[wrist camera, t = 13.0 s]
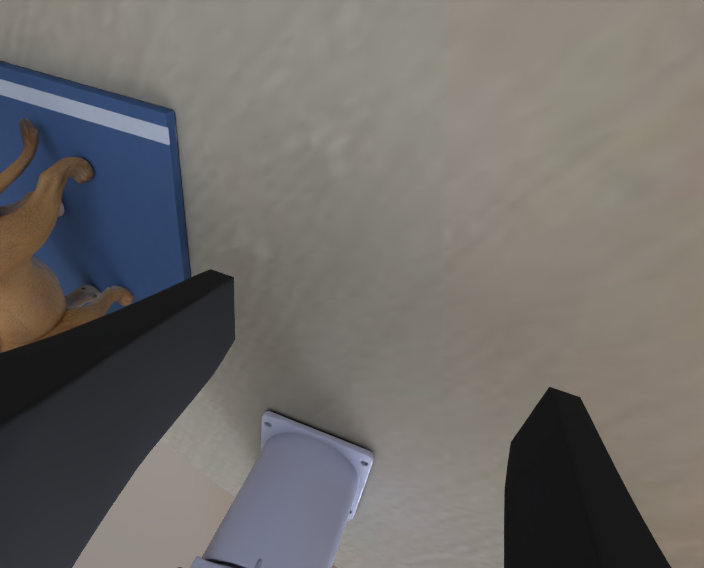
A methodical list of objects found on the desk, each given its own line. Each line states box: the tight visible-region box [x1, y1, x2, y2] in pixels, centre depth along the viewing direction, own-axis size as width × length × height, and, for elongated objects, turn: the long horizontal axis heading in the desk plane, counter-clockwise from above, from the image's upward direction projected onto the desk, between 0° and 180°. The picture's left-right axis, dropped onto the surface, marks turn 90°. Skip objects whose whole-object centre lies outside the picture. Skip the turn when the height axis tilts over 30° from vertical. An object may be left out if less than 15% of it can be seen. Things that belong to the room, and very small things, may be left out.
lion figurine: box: [0, 118, 134, 353], centre depth 21 cm, size 15×5×9 cm, turn 5°
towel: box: [0, 61, 191, 315], centre depth 24 cm, size 16×13×1 cm
